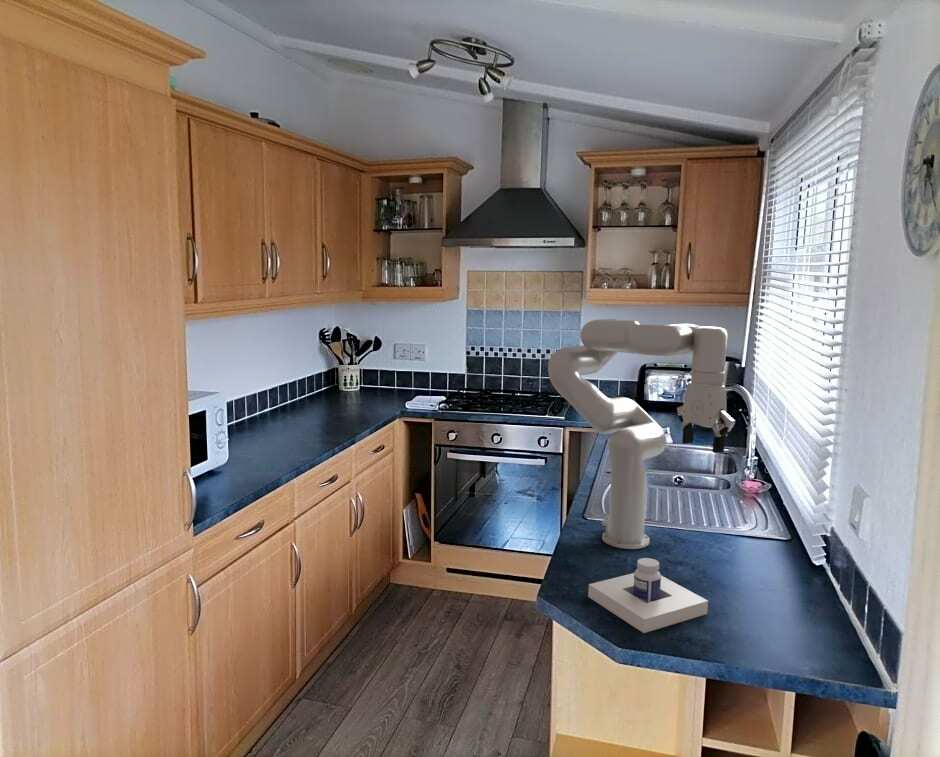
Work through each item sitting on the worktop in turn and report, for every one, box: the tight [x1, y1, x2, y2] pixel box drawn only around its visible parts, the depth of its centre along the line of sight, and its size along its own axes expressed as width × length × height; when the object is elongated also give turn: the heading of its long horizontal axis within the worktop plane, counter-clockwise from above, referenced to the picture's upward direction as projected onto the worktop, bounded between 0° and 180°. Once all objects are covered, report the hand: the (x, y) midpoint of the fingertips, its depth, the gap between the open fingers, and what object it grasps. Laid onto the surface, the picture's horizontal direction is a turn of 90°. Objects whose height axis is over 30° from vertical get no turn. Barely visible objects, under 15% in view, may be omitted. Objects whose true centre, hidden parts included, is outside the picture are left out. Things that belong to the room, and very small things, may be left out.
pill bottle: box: [633, 557, 662, 603], centre depth 155 cm, size 6×6×10 cm
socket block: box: [587, 572, 709, 634], centre depth 155 cm, size 18×18×3 cm
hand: (702, 447), depth 173 cm, fingers open, 9 cm apart
